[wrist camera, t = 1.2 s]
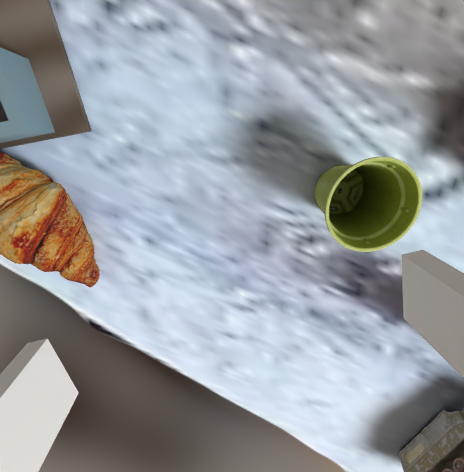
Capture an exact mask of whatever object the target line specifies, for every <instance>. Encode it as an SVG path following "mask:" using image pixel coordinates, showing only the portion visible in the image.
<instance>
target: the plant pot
mask: <svg viewBox="0 0 464 472" xmlns="http://www.w3.org/2000/svg"><path fill="white" fill-rule="evenodd" d="M348 173H350V174H348ZM357 188H358V189H359V193H358V196H357V198H355V199H354V196H355V194H356V192H357ZM339 189H342V192H341V193H339V192H338V190H339ZM315 199H316V202H317V204H318V206H319V207H320V209H321V210H322V212H323V213H324V214H325V220H326V224H327V227H328V230H329V232H330V233H331V235H332V236H333V238H334V239H335V240H336V241H337V242H338V243H339V244H341V245H342V246H344V247H346V248H348V249H351V250H355V251H361V252H370V251H376V250H380V249H383V248H385V247H388V246H390V245H392V244H394V243H395V242H397V241H398V240H399V239H401V238H402V237H403V236H404V235H405V234H406V233H407V232H408V231H409V230H410V228H411V227H412V226H413V224H414V223H415V221H416V219H417V217H418V214H419V212H420V209H421V204H422V189H421V184H420V181H419V179H418V177H417V175H416V173H415V172H414V171H413V169H412V168H411V167H410V166H408V165H407V164H406V163H404V162H402V161H400V160H398V159H395V158H390V157H374V158H369V159H365V160H363V161H360V162H358V163H356V164H354V165H338V166H334V167H332V168H330V169H329V170H327V171H326V172H324V173H323V174H322V175H321V176H320V178H319V180H318V181H317V183H316V187H315ZM329 206H331V207H335V208H338V210H331V209H329Z"/></svg>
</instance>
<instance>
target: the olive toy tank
mask: <svg viewBox="0 0 464 472" xmlns="http://www.w3.org/2000/svg"><path fill="white" fill-rule="evenodd" d="M399 456H400V459H401V463H402V467H403V470H404V472H464V409H463V410H462V411H454V412H448V411H445V410H442V412H440V414H439V415H438V416H437V417H436V418H435V419H434V420H433V421H432V422H431V423H430V424H429V425H428V426H427V427H425V428H424V429H422V432H420V433H419V434H418V435H417V436H416V437H415V438H414V439H413V440H412V441H411V442H410V443H409V444H408V445H406V447H405V448H404V449H403V450H402V451H400V452H399Z"/></svg>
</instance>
